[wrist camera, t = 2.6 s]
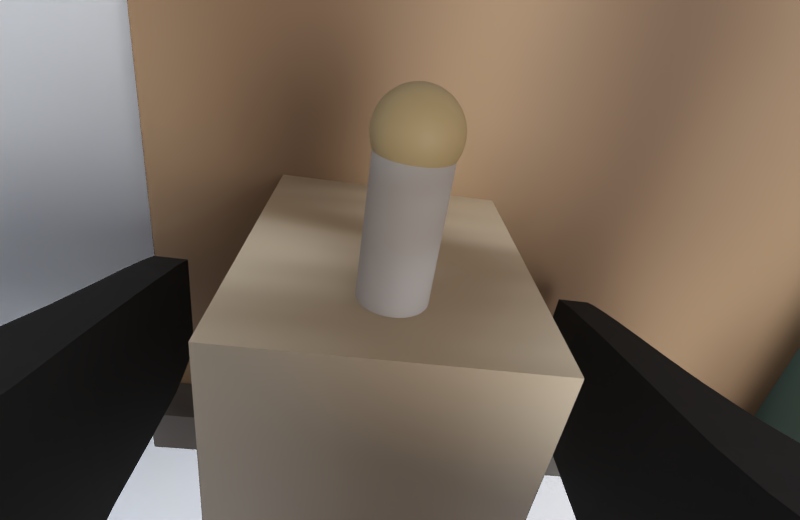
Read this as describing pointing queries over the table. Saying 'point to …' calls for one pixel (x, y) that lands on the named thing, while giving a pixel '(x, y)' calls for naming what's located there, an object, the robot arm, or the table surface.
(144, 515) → the table surface
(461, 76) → the board
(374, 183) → the beige block with rod
